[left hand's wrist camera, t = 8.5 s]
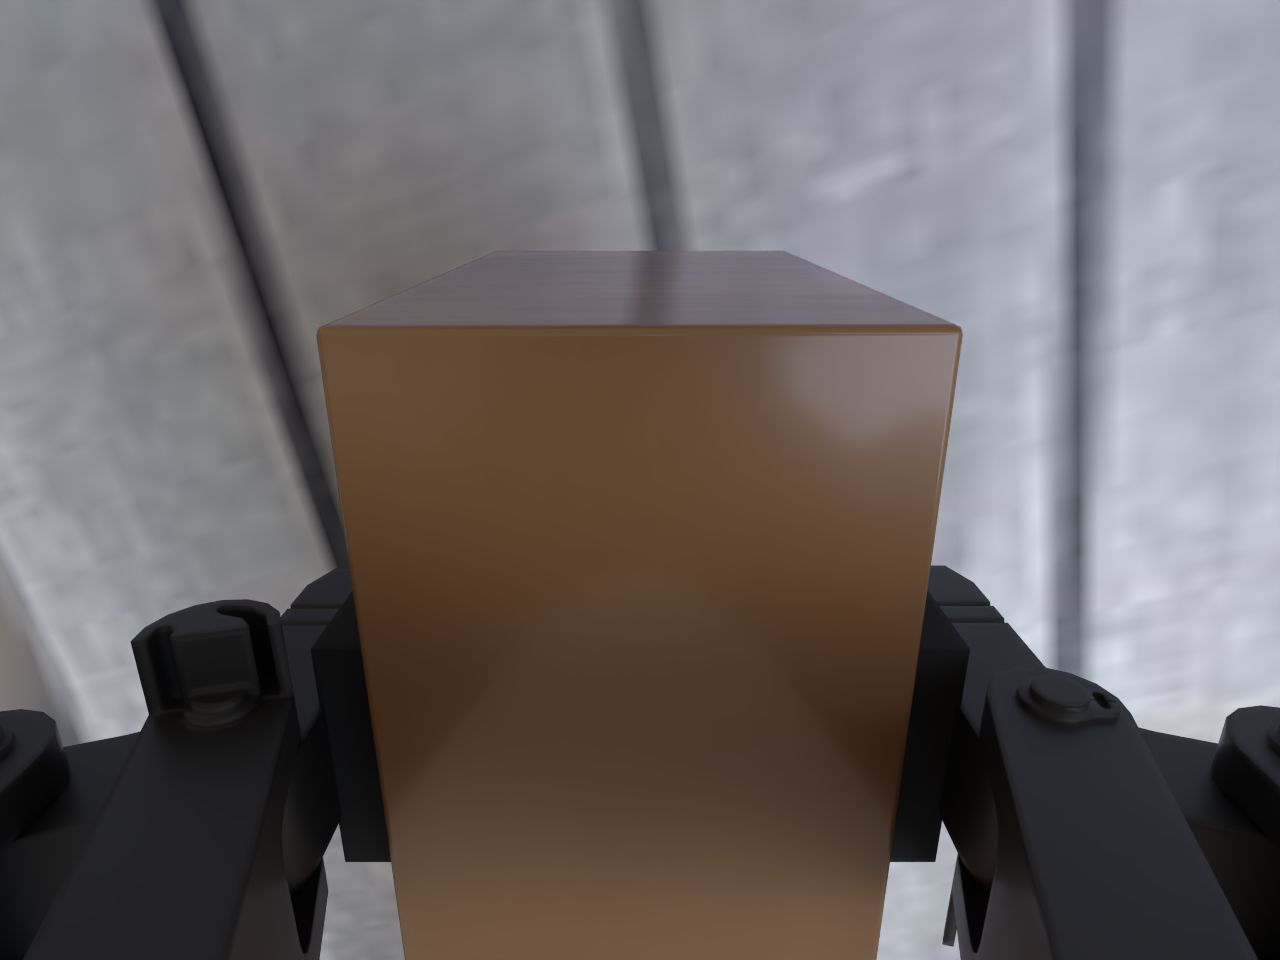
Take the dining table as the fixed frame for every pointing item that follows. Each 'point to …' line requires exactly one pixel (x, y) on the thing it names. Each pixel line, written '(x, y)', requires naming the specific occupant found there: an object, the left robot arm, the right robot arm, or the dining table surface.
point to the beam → (640, 596)
